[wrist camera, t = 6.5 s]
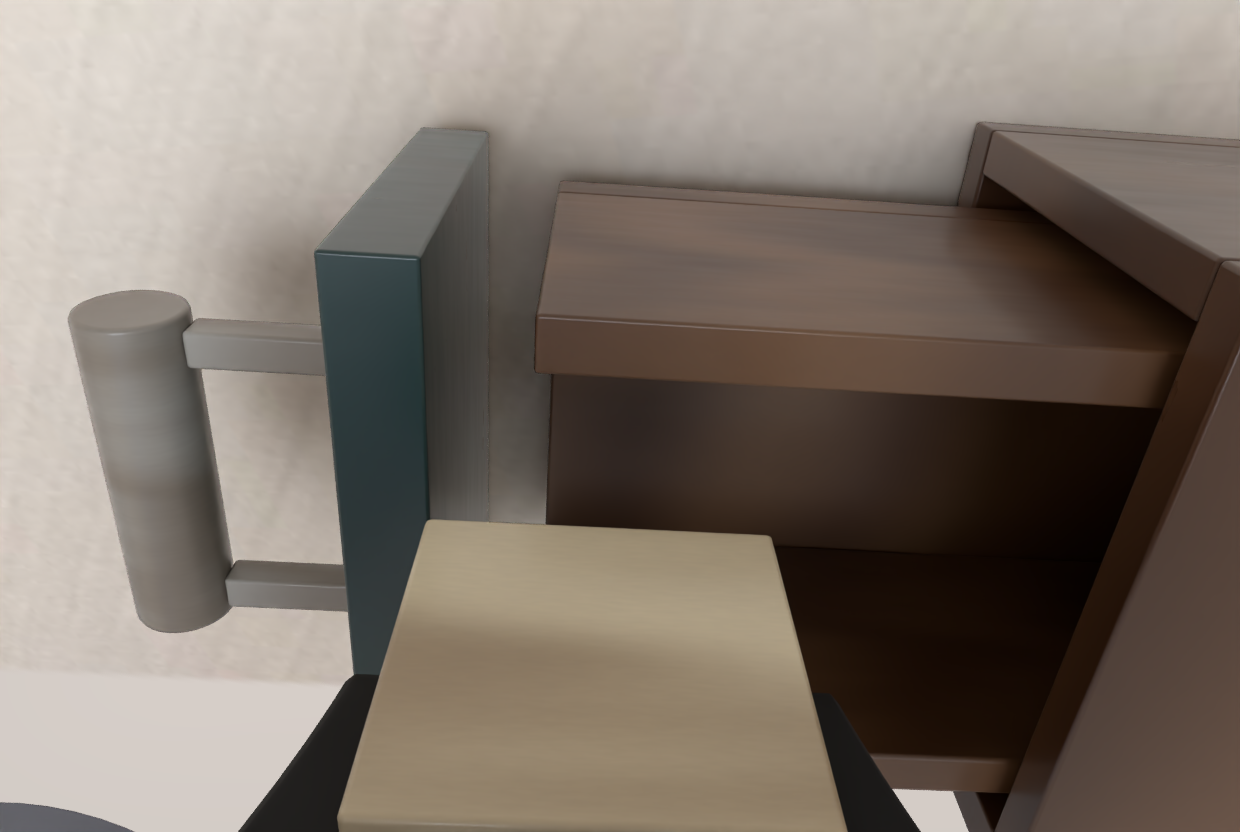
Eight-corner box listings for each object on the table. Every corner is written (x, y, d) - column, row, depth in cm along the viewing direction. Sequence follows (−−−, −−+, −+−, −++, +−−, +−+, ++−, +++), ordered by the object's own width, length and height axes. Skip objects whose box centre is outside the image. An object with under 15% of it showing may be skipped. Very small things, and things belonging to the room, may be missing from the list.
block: (729, 770, 13) (776, 1101, 9) (435, 760, 12) (368, 1093, 9) (772, 533, 11) (852, 836, 7) (425, 516, 10) (333, 819, 7)
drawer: (242, 544, 21) (92, 801, 15) (173, 109, 16) (-83, 225, 10) (1104, 585, 21) (1295, 845, 15) (1267, 184, 17) (1625, 331, 11)
